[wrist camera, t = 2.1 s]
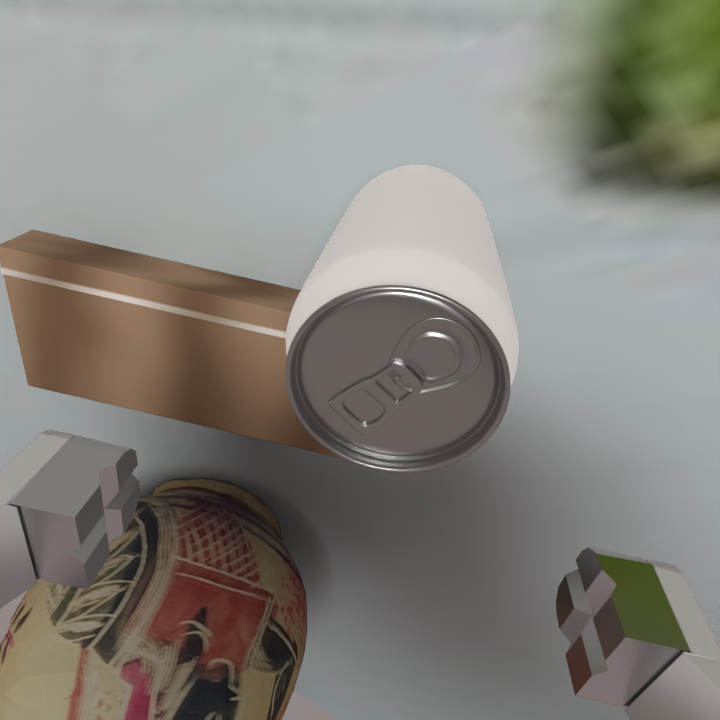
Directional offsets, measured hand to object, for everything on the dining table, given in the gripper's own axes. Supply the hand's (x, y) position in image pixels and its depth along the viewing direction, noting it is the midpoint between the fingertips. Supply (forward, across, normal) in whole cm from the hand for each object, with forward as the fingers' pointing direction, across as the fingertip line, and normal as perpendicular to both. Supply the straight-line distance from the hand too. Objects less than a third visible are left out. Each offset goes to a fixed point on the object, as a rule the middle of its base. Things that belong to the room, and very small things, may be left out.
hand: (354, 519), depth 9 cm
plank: (+16, +8, +8) cm, 20 cm away
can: (+16, -1, 0) cm, 16 cm away
